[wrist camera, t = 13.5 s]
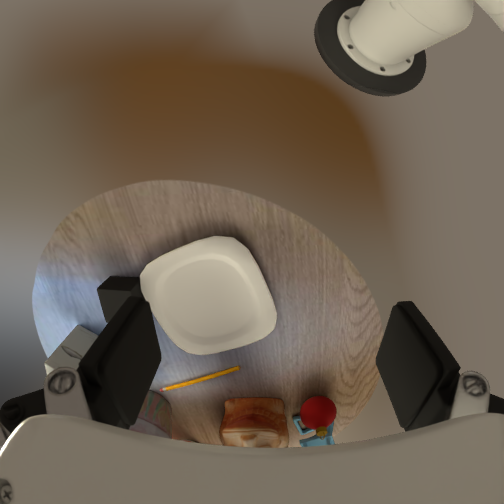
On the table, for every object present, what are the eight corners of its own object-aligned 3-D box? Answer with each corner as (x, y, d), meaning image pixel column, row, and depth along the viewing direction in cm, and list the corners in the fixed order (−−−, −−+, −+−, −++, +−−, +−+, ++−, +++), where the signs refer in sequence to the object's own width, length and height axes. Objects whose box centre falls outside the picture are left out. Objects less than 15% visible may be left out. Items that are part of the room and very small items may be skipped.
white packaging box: (109, 338, 44) (78, 384, 32) (107, 363, 46) (81, 406, 34) (77, 322, 43) (43, 362, 31) (78, 347, 45) (49, 387, 34)
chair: (335, 423, 51) (344, 464, 40) (300, 432, 52) (304, 474, 41) (330, 406, 49) (340, 452, 37) (292, 416, 50) (296, 462, 38)
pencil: (160, 387, 48) (159, 390, 47) (238, 364, 44) (238, 367, 44) (162, 390, 48) (162, 392, 47) (240, 367, 45) (240, 370, 44)
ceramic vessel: (290, 381, 46) (297, 449, 32) (284, 445, 55) (286, 495, 41) (214, 381, 46) (203, 448, 32) (228, 446, 55) (223, 495, 41)
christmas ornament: (324, 410, 49) (331, 448, 40) (293, 408, 49) (297, 447, 39) (338, 390, 47) (349, 429, 37) (306, 386, 46) (313, 428, 37)
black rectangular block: (109, 276, 39) (96, 288, 35) (142, 277, 39) (130, 291, 35) (120, 317, 42) (109, 332, 38) (151, 320, 42) (141, 336, 38)
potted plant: (94, 372, 48) (45, 457, 24) (171, 375, 46) (135, 489, 23) (128, 420, 54) (99, 497, 30) (199, 426, 52) (181, 519, 29)
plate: (131, 266, 38) (126, 270, 37) (240, 219, 36) (239, 223, 34) (186, 355, 44) (184, 362, 42) (286, 326, 41) (287, 333, 40)
